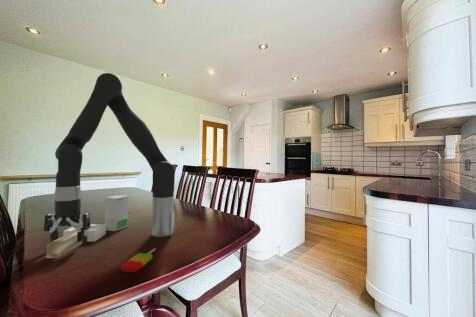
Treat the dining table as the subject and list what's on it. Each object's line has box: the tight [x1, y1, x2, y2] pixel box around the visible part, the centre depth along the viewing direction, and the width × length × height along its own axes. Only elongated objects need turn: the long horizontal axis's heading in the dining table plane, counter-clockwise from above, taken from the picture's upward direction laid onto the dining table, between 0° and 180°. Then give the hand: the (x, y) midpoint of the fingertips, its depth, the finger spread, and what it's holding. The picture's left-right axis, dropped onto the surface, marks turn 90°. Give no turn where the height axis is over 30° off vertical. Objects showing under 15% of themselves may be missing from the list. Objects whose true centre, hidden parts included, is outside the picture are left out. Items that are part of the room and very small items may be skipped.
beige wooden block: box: [46, 231, 83, 259], centre depth 74 cm, size 4×12×5 cm, turn 4°
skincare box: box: [104, 195, 129, 232], centre depth 99 cm, size 8×7×16 cm
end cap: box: [62, 223, 107, 242], centre depth 86 cm, size 12×8×4 cm, turn 97°
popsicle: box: [120, 248, 157, 273], centre depth 69 cm, size 6×15×2 cm, turn 171°
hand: (67, 241), depth 75 cm, fingers open, 8 cm apart
